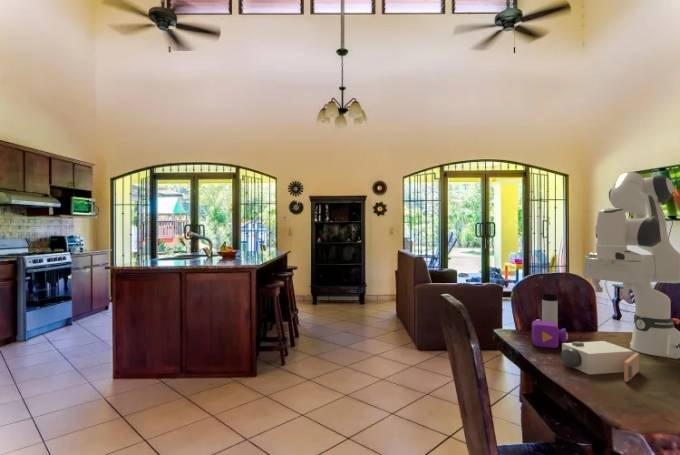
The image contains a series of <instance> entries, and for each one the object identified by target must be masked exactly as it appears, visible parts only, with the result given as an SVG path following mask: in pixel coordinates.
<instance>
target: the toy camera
mask: <svg viewBox="0 0 680 455" xmlns="http://www.w3.org/2000/svg"><path fill="white" fill-rule="evenodd" d="M566 329H567V328H565V327H564V328H562V329H559V327H558V326H557V325H556V323H554V322H548V321H542V320H541V319H535V320H533V321H532V322H531V340H532V343H533V345H534V346H535V347H541V348H549V349H557V348H558V347H559V341H560V342H561V343H567V340H568V339H569V335H568V332H567V330H566Z"/></svg>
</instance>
